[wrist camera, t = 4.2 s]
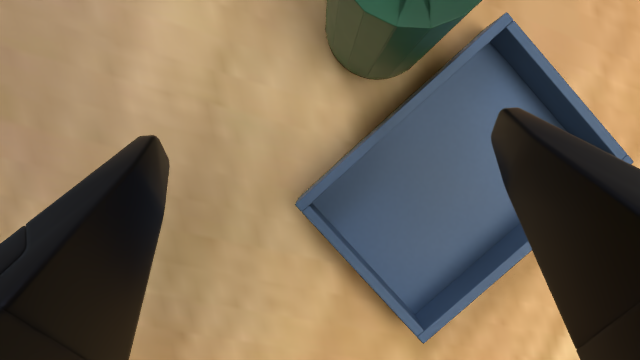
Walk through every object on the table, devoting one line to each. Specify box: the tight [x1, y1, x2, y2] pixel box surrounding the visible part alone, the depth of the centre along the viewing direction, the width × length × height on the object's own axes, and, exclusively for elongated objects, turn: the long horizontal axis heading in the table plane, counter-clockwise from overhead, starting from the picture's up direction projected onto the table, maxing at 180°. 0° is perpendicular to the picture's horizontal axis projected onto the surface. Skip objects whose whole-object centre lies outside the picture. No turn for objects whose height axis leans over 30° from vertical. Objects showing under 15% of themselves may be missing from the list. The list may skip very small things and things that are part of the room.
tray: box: [295, 13, 633, 343], centre depth 22 cm, size 11×16×3 cm
